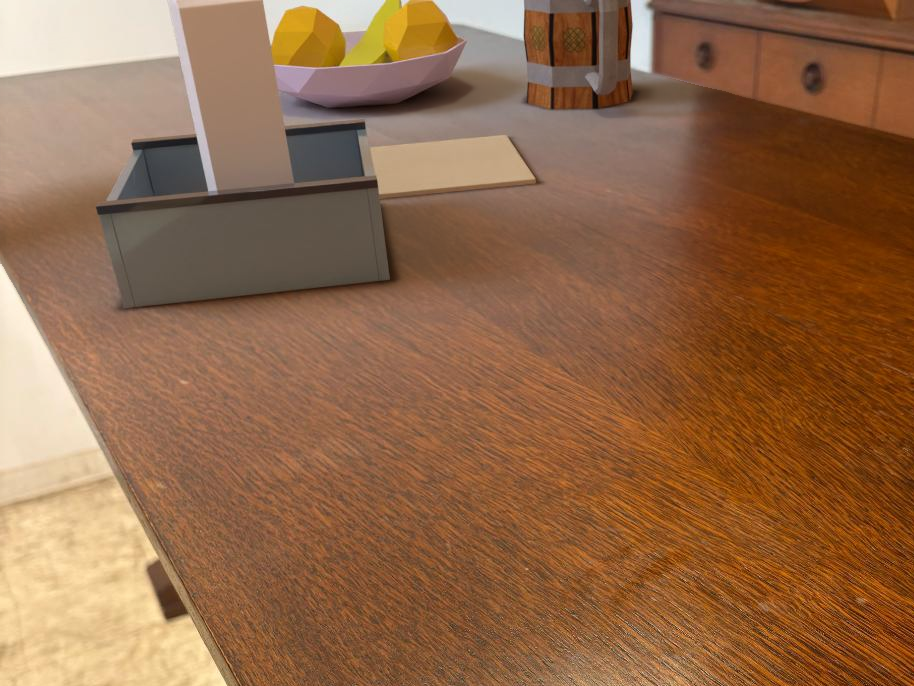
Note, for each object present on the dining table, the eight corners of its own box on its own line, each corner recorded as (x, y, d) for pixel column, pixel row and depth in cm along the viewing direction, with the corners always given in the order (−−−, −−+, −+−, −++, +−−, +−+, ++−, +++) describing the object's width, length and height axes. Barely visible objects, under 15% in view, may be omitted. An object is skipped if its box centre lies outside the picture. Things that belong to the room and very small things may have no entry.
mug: (514, 92, 137) (506, -42, 128) (616, 82, 139) (615, -51, 131) (553, 126, 121) (547, -24, 113) (668, 114, 123) (671, -35, 115)
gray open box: (123, 310, 80) (95, 206, 76) (154, 228, 96) (132, 139, 92) (390, 281, 82) (377, 179, 78) (375, 206, 99) (364, 118, 94)
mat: (322, 205, 100) (321, 199, 99) (319, 156, 115) (318, 151, 114) (535, 184, 102) (535, 178, 102) (506, 139, 117) (506, 134, 117)
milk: (307, 257, 88) (256, -51, 76) (232, 270, 86) (167, -44, 74) (290, 236, 93) (239, -58, 80) (218, 248, 91) (155, -51, 78)
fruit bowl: (386, 127, 124) (373, 19, 118) (217, 110, 137) (197, 11, 130) (517, 79, 144) (512, -16, 137) (359, 67, 156) (347, -21, 150)
